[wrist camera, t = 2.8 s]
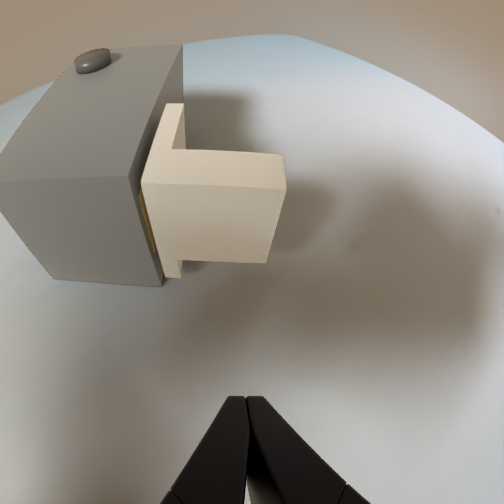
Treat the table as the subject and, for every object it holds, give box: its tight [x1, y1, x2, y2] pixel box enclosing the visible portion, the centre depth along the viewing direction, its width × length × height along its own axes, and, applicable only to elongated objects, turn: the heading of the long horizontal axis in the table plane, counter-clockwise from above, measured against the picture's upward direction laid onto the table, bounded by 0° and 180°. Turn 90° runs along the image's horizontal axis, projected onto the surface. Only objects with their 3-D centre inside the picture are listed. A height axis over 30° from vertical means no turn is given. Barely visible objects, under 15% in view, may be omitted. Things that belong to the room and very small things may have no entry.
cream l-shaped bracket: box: [140, 103, 287, 278], centre depth 14 cm, size 6×5×8 cm
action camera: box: [0, 44, 184, 287], centre depth 16 cm, size 14×7×9 cm, turn 1°
